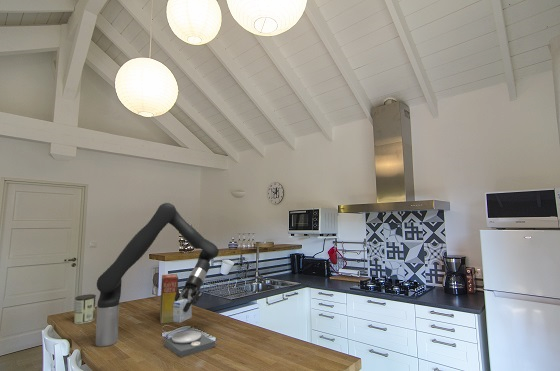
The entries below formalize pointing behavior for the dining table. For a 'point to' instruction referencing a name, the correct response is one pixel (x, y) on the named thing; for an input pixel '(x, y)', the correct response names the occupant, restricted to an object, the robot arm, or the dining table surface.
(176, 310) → the medicine box
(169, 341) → the kitchen scale
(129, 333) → the dining table surface
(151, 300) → the dining table surface
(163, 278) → the food packaging
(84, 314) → the coffee can
